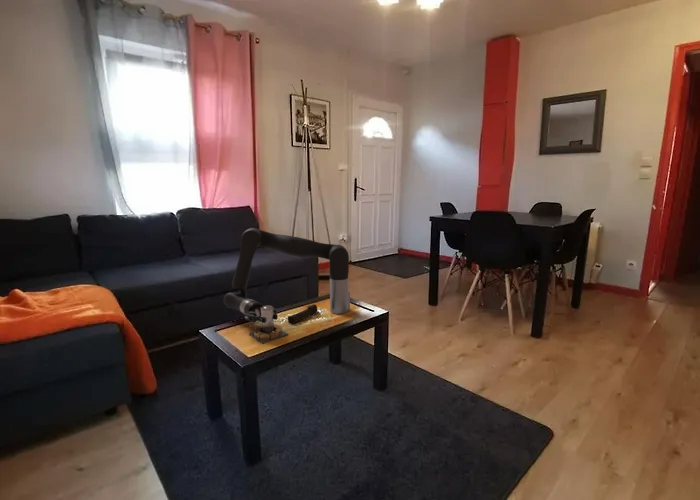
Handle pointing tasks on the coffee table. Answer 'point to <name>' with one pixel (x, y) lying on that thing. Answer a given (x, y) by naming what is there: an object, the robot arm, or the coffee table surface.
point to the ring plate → (268, 334)
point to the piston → (267, 319)
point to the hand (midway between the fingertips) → (270, 319)
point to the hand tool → (302, 314)
